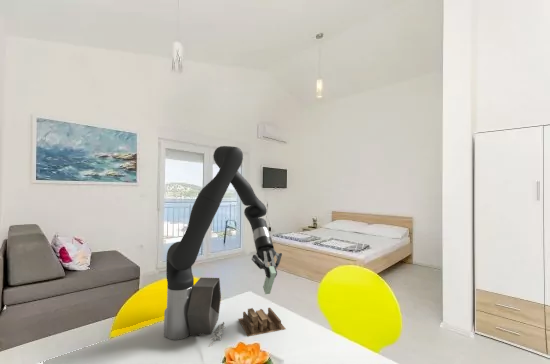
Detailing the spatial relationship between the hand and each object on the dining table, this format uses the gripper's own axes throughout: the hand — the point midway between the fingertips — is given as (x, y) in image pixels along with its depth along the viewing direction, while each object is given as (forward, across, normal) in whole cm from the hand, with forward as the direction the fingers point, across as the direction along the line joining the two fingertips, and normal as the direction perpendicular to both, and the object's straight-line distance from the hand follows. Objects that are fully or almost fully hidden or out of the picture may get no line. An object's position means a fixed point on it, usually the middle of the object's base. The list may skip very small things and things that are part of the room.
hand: (272, 276), depth 104 cm
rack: (+12, -3, +15) cm, 20 cm away
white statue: (+15, -22, +13) cm, 29 cm away
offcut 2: (+12, -3, +14) cm, 19 cm away
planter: (+8, -24, +20) cm, 32 cm away
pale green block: (+1, 0, +10) cm, 10 cm away
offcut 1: (+12, -7, +14) cm, 20 cm away
